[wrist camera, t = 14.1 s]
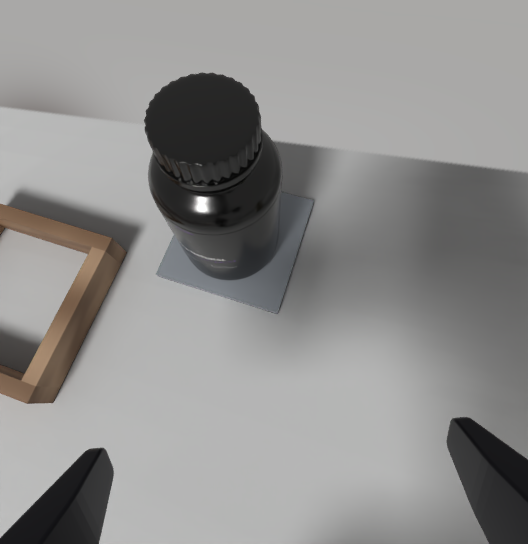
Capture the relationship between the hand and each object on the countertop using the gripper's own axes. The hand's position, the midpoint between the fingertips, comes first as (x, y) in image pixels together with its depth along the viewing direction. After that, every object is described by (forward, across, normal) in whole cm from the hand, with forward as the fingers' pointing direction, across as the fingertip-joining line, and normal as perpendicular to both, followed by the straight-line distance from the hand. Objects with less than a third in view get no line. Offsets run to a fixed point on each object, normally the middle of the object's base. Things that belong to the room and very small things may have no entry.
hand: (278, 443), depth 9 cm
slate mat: (+18, +2, +1) cm, 18 cm away
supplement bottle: (+18, +2, +1) cm, 18 cm away
